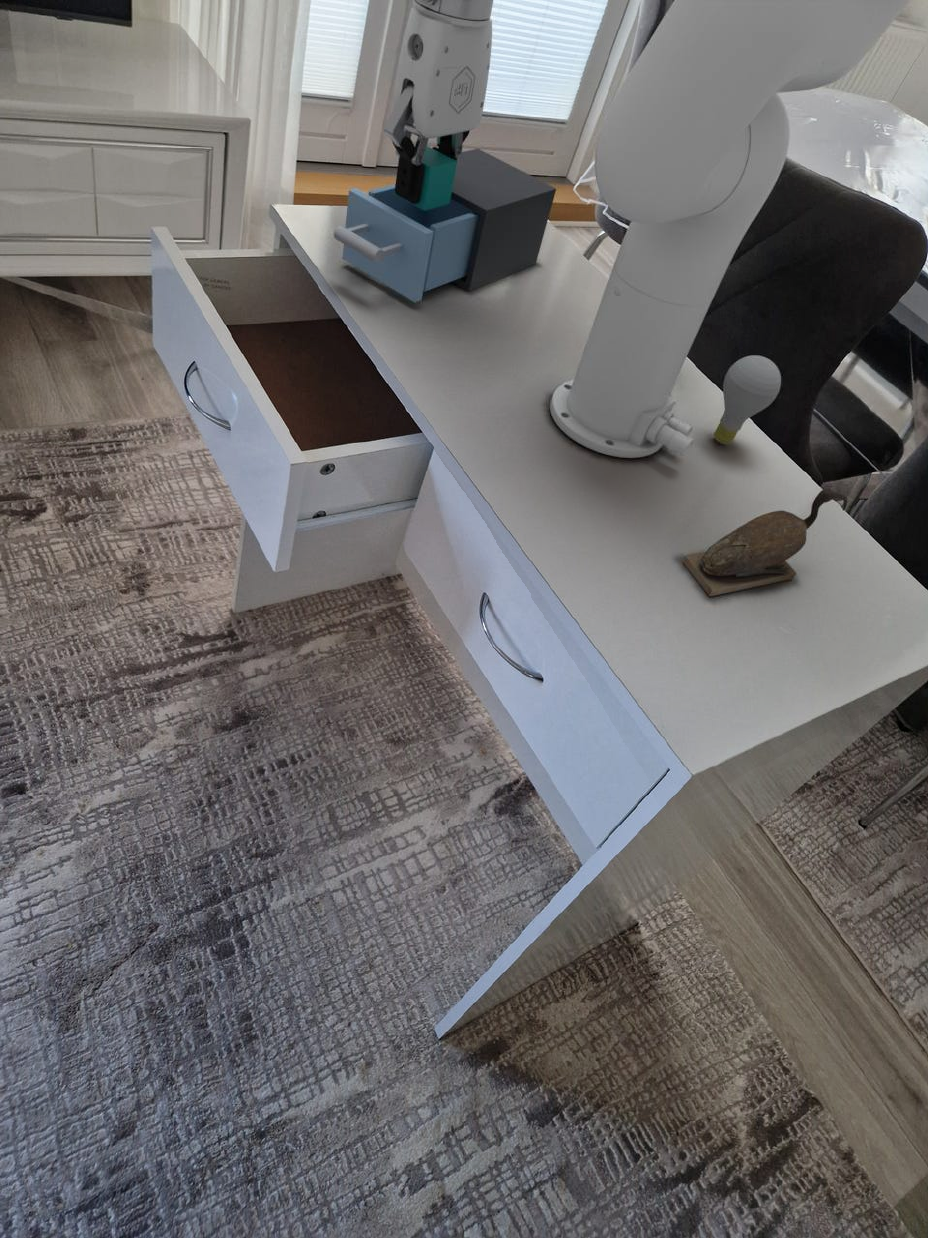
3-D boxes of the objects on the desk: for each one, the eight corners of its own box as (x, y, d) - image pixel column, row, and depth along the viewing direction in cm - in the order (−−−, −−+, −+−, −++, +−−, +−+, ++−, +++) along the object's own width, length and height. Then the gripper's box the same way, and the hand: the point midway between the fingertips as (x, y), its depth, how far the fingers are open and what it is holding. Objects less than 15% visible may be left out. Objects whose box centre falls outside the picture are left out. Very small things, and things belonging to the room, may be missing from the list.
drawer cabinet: (468, 291, 98) (486, 210, 91) (391, 246, 102) (403, 165, 95) (535, 264, 107) (556, 188, 100) (462, 223, 111) (477, 147, 104)
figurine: (795, 539, 78) (844, 468, 72) (825, 572, 76) (878, 501, 69) (680, 561, 72) (723, 485, 66) (709, 597, 70) (756, 522, 64)
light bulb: (719, 462, 84) (764, 378, 77) (686, 430, 87) (727, 347, 80) (755, 453, 87) (802, 371, 80) (721, 423, 90) (764, 341, 82)
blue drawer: (386, 313, 89) (397, 243, 83) (312, 267, 92) (317, 197, 87) (485, 274, 100) (500, 209, 94) (416, 235, 104) (426, 170, 98)
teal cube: (449, 203, 92) (457, 161, 89) (424, 210, 89) (431, 167, 86) (419, 187, 93) (426, 145, 90) (393, 194, 90) (399, 150, 87)
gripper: (427, 12, 71) (397, 223, 84) (534, 6, 82) (493, 194, 95) (364, -16, 73) (345, 193, 87) (476, -18, 84) (444, 169, 97)
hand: (423, 192), depth 91 cm, fingers open, 4 cm apart
